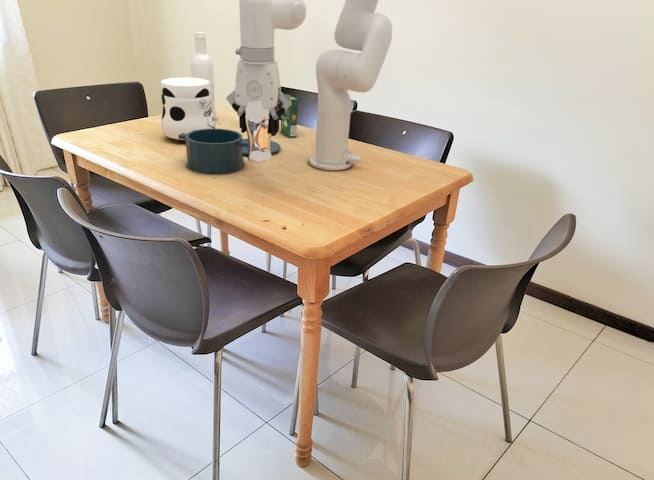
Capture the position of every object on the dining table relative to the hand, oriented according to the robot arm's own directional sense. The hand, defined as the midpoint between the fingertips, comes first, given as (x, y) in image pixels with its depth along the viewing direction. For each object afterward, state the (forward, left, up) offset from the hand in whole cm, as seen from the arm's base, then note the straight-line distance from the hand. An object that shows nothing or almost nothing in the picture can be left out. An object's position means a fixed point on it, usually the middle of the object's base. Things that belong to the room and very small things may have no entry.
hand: (259, 132), depth 124 cm
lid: (+13, -33, -14) cm, 38 cm away
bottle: (+43, -60, -15) cm, 76 cm away
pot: (+18, -13, -15) cm, 27 cm away
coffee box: (+8, -53, -15) cm, 56 cm away
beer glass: (0, 0, -7) cm, 7 cm away
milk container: (+37, -35, -15) cm, 54 cm away
